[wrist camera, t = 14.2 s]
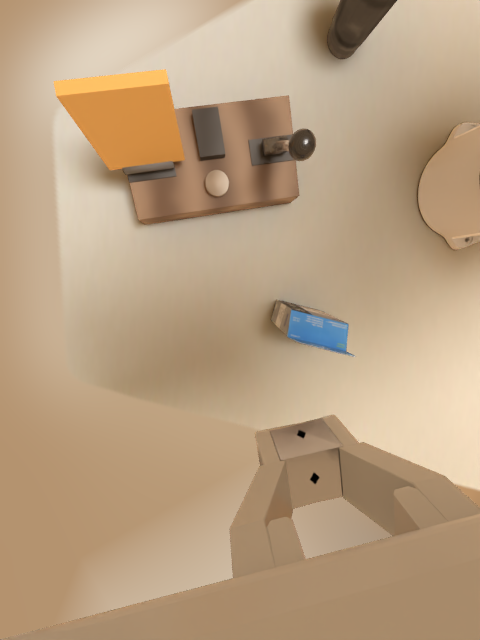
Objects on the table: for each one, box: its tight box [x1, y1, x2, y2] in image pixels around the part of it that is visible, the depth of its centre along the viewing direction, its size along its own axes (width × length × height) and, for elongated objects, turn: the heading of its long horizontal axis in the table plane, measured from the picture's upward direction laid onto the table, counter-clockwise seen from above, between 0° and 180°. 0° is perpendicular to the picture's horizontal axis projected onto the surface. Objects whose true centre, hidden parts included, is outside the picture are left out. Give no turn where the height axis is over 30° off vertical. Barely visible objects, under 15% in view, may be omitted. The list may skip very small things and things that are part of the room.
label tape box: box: [271, 300, 356, 357], centre depth 37 cm, size 9×4×12 cm, turn 75°
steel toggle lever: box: [262, 129, 316, 161], centre depth 29 cm, size 3×3×12 cm
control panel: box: [127, 96, 299, 225], centre depth 35 cm, size 22×12×5 cm, turn 99°
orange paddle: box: [54, 69, 185, 175], centre depth 27 cm, size 9×2×11 cm, turn 99°
